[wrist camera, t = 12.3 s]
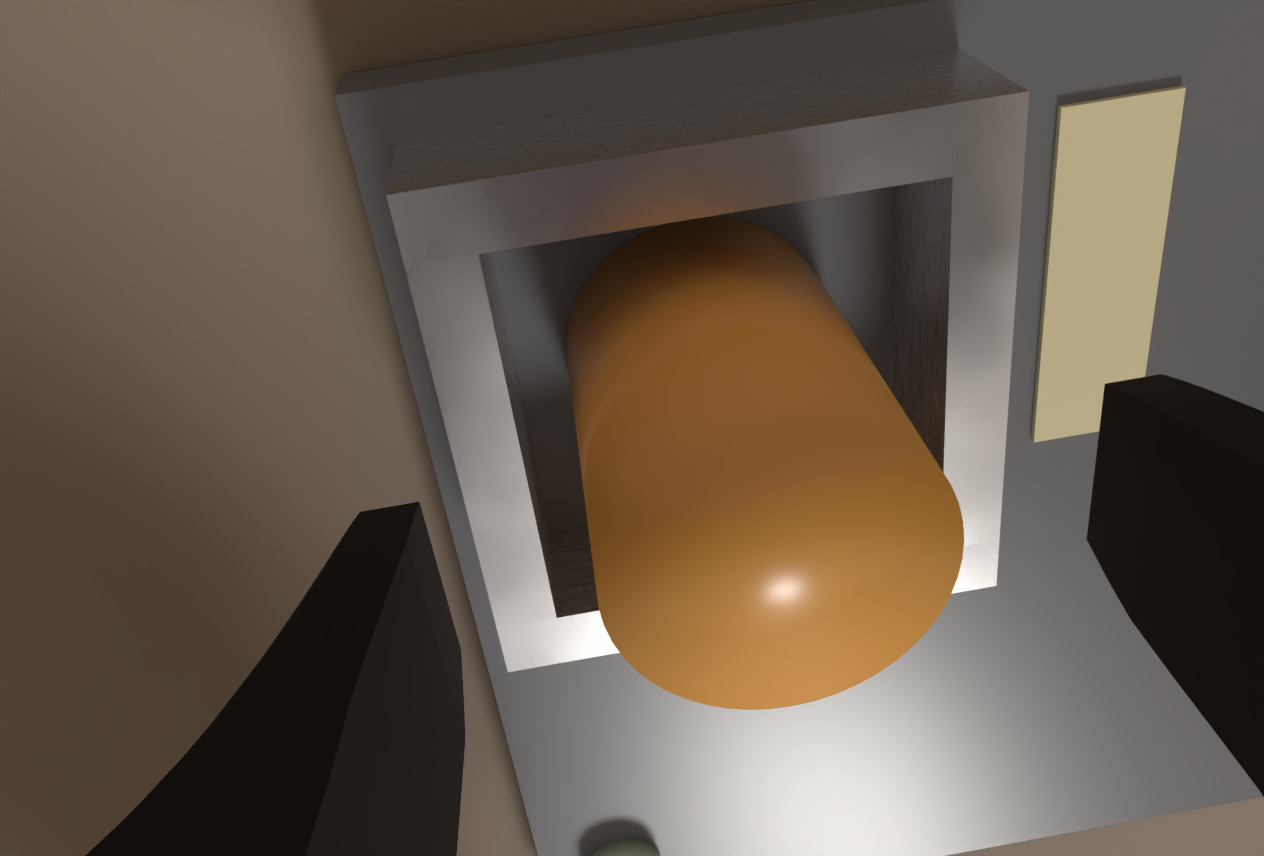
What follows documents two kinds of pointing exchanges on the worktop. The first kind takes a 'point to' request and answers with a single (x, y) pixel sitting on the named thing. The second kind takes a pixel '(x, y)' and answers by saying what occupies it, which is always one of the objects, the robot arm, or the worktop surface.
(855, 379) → the cap
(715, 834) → the breaker panel
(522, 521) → the frame
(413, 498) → the worktop surface
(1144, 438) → the robot arm
